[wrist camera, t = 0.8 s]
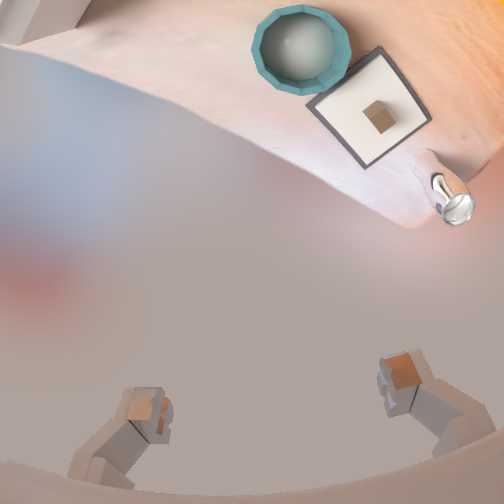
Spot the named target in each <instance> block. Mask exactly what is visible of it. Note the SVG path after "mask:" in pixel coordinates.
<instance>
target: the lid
mask: <svg viewBox="0 0 504 504" xmlns="http://www.w3.org/2000/svg"><path fill="white" fill-rule="evenodd" d="M315 108H316V109H317V110H318V111H319V112H320V113H321V114H322V115H323V116H324V118H325V119H326V120H327V121H328V122H329V123H330V124H331V125H332V126H333V127H334V128H335V129H336V130H337V131H338V133H339V134H340V135H341V136H342V137H343V138H344V139H345V140H346V141H347V143H348V144H349V145H350V146H351V147H352V148H353V149H354V151H355V152H356V153H357V154H358V155H359V156H360V158H361V159H362V160H363V161H364V162H365V164H366V165H368V164H369V163H371V162H372V161H373V160H375V159H376V158H377V157H379V156H380V155H381V154H382V153H384V152H385V151H386V150H388V149H389V148H390V147H392V146H393V145H394V144H396V143H397V142H398V141H400V140H401V139H402V138H404V137H405V136H406V135H408V134H409V133H410V132H412V131H413V130H414V129H416V128H417V127H418V126H420V125H421V124H422V123H424V122H425V121H426V120H427V119H426V117H425V116H424V114H423V113H422V111H421V109H420V108H419V106H418V105H417V103H416V102H415V100H414V99H413V97H412V96H411V94H410V93H409V92H408V90H407V89H406V87H405V86H404V84H403V83H402V82H401V80H400V79H399V78H398V76H397V75H396V73H395V72H394V71H393V69H392V68H391V67H390V66H389V64H388V63H387V62H386V60H385V59H384V58H383V57H382V55H379V56H377V57H376V58H375V59H373V60H372V61H371V62H369V63H368V64H367V65H366V66H364V67H363V68H362V69H360V70H359V71H358V72H357V73H355V74H354V75H353V76H351V77H350V78H349V79H348V80H346V81H345V82H344V83H343V84H341V85H340V86H339V87H338V88H336V89H335V90H334V91H333V92H332V93H330V94H329V95H328V96H327V97H325V98H324V99H323V100H322V101H321V102H319V103H318V104H317V105H316V106H315Z"/></svg>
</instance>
